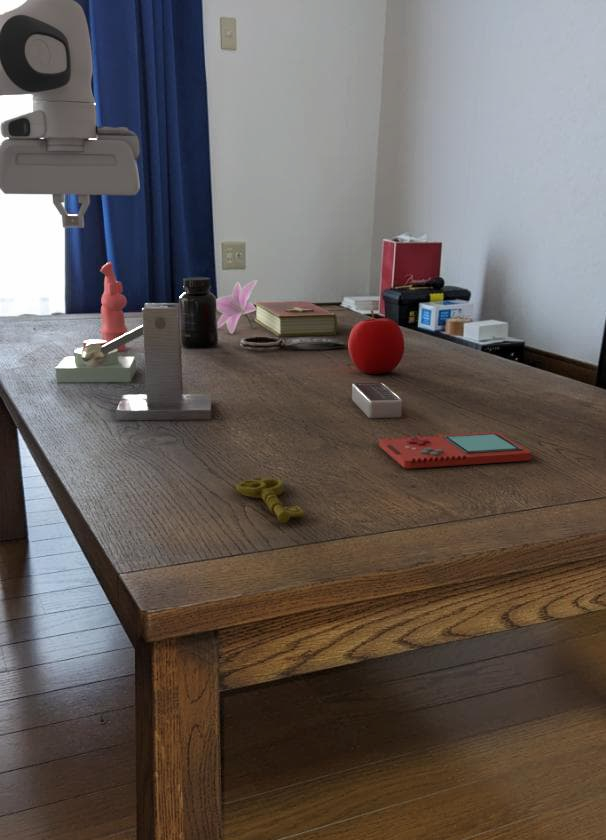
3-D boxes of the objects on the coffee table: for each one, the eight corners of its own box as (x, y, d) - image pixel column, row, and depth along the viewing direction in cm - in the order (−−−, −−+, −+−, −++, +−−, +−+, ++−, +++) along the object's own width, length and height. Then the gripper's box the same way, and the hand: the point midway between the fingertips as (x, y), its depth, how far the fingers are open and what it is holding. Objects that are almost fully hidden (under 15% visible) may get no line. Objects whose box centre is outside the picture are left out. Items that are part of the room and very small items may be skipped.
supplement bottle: (197, 340, 170) (195, 275, 166) (225, 344, 167) (224, 277, 162) (173, 345, 165) (170, 278, 161) (200, 350, 162) (198, 281, 157)
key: (307, 509, 81) (253, 513, 80) (307, 522, 82) (253, 527, 80) (278, 472, 92) (230, 475, 91) (278, 484, 92) (230, 487, 91)
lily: (214, 329, 190) (197, 290, 183) (265, 306, 190) (249, 266, 183) (227, 356, 181) (210, 317, 174) (280, 332, 181) (265, 292, 175)
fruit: (351, 365, 150) (353, 304, 146) (405, 368, 149) (409, 306, 145) (342, 376, 142) (344, 311, 138) (399, 379, 140) (403, 314, 136)
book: (307, 318, 198) (307, 299, 196) (336, 334, 179) (337, 312, 178) (254, 320, 195) (254, 300, 193) (278, 336, 176) (278, 314, 174)
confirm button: (82, 355, 137) (81, 343, 136) (85, 350, 140) (85, 339, 139) (106, 354, 137) (105, 343, 136) (109, 350, 140) (108, 339, 140)
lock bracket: (116, 420, 115) (109, 310, 110) (124, 403, 123) (117, 301, 118) (210, 419, 116) (207, 310, 111) (211, 403, 124) (208, 301, 119)
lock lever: (87, 374, 115) (74, 352, 114) (91, 369, 118) (78, 347, 117) (176, 328, 114) (164, 305, 113) (177, 324, 117) (165, 301, 116)
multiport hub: (369, 418, 117) (370, 401, 117) (351, 399, 127) (351, 382, 127) (401, 417, 118) (402, 400, 117) (381, 398, 128) (382, 382, 127)
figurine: (120, 352, 158) (114, 264, 153) (94, 350, 160) (88, 263, 154) (134, 348, 163) (129, 261, 157) (109, 346, 164) (103, 260, 159)
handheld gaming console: (378, 436, 105) (496, 429, 108) (378, 446, 105) (496, 439, 109) (405, 459, 97) (532, 451, 100) (405, 469, 97) (531, 461, 101)
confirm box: (56, 382, 135) (54, 356, 134) (66, 370, 144) (64, 345, 142) (130, 382, 136) (128, 355, 135) (136, 370, 145) (134, 345, 143)
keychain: (347, 350, 162) (347, 339, 162) (242, 352, 160) (242, 341, 159) (338, 343, 170) (339, 332, 169) (238, 345, 167) (237, 334, 166)
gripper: (140, 128, 133) (145, 227, 138) (-1, 125, 131) (10, 225, 137) (136, 126, 127) (141, 229, 132) (-12, 123, 125) (0, 228, 131)
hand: (73, 227), depth 134 cm, fingers closed
